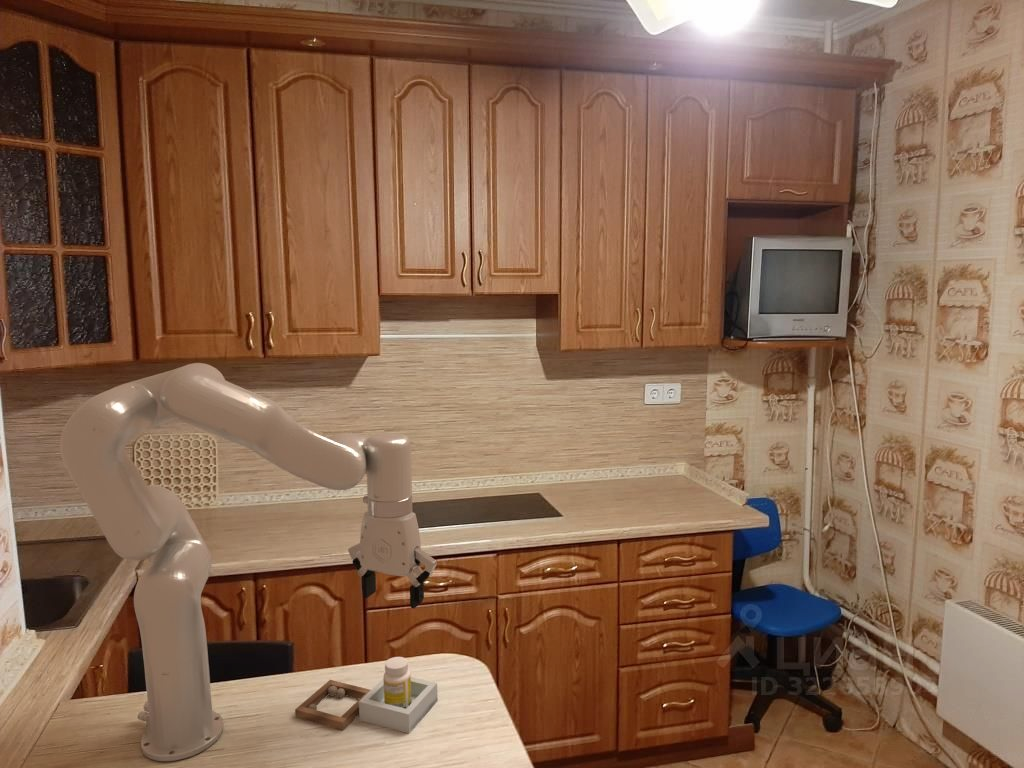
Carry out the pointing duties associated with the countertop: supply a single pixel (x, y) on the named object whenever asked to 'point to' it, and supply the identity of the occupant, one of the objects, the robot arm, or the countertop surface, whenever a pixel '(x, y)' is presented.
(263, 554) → the countertop surface
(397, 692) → the supplement bottle
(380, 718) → the grey square open box
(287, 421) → the robot arm
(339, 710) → the countertop surface
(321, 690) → the tray
